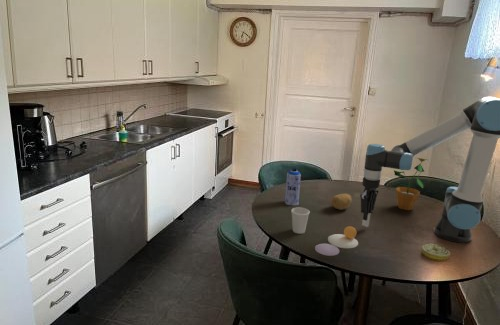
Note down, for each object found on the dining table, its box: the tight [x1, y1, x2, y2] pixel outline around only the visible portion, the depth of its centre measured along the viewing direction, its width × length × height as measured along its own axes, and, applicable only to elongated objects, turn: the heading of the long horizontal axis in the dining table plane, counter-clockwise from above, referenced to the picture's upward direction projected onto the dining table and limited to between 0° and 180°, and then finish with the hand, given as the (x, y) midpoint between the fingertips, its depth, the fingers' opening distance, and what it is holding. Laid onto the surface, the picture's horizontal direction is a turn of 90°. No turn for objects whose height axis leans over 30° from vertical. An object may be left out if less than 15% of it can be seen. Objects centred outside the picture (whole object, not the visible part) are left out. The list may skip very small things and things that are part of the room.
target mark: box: [327, 233, 359, 249], centre depth 162 cm, size 13×13×1 cm
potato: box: [330, 193, 353, 210], centre depth 199 cm, size 10×14×8 cm
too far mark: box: [314, 243, 340, 257], centre depth 154 cm, size 10×10×1 cm
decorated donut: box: [421, 243, 451, 262], centre depth 153 cm, size 10×11×4 cm
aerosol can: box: [284, 167, 302, 206], centre depth 202 cm, size 8×8×20 cm
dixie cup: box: [290, 206, 311, 235], centre depth 169 cm, size 8×8×10 cm
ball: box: [343, 225, 357, 239], centre depth 165 cm, size 6×6×6 cm
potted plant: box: [393, 156, 428, 211], centre depth 201 cm, size 18×19×30 cm
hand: (365, 225), depth 175 cm, fingers closed
